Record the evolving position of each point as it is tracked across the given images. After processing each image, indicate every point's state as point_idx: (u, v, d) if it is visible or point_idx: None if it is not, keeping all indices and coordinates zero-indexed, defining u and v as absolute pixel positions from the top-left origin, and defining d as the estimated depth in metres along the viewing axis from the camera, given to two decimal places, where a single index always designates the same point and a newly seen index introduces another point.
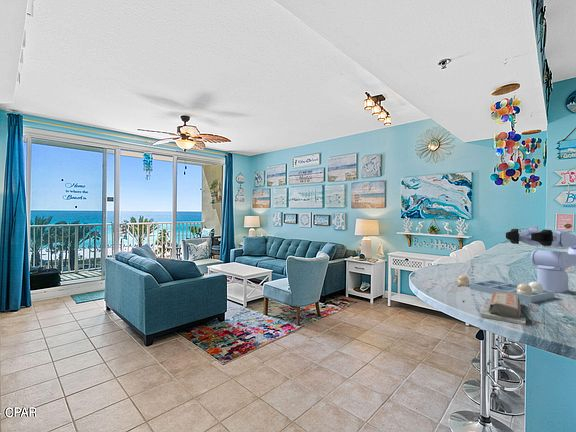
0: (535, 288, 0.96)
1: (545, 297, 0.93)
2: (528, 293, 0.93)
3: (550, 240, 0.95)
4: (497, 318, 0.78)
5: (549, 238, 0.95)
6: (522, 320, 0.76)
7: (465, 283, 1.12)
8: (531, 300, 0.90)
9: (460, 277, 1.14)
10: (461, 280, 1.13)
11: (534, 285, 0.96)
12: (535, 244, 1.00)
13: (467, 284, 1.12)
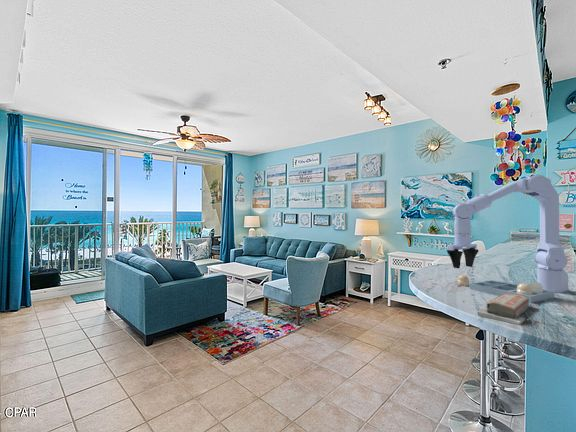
0: (535, 288, 0.96)
1: (545, 297, 0.93)
2: (528, 293, 0.93)
3: (454, 252, 1.11)
4: (492, 317, 0.79)
5: (453, 252, 1.12)
6: (517, 320, 0.76)
7: (465, 283, 1.12)
8: (531, 300, 0.90)
9: (460, 277, 1.14)
10: (461, 280, 1.13)
11: (534, 285, 0.96)
12: (467, 247, 1.12)
13: (467, 284, 1.12)
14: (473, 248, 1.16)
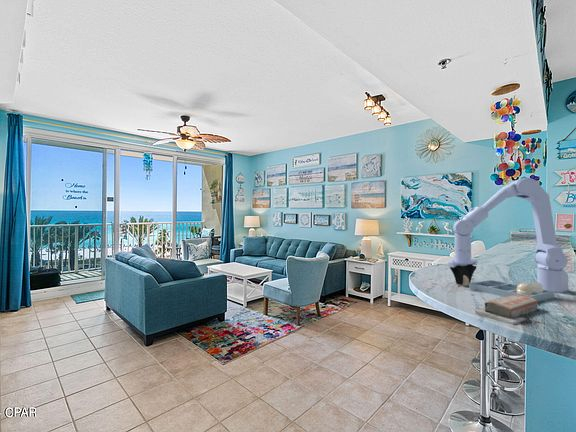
0: (535, 288, 0.96)
1: (545, 297, 0.93)
2: (528, 293, 0.93)
3: (457, 269, 1.12)
4: (488, 316, 0.80)
5: (456, 268, 1.13)
6: (512, 320, 0.76)
7: (465, 283, 1.12)
8: None
9: None
10: None
11: (534, 285, 0.96)
12: (467, 263, 1.12)
13: (467, 284, 1.12)
14: (473, 264, 1.16)
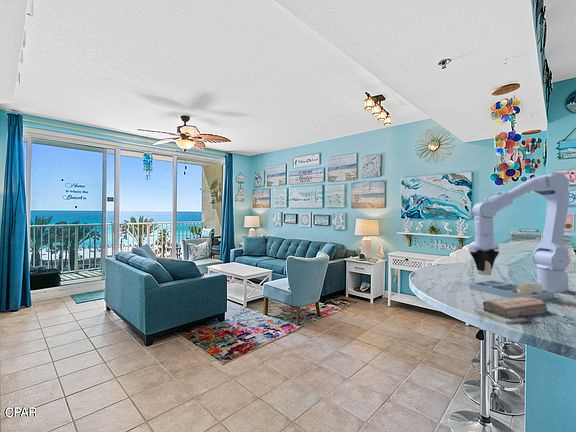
0: (535, 288, 0.96)
1: (545, 297, 0.93)
2: (528, 293, 0.93)
3: (479, 254, 1.04)
4: (485, 314, 0.81)
5: (477, 253, 1.05)
6: (507, 320, 0.76)
7: (487, 269, 1.05)
8: None
9: None
10: None
11: (534, 285, 0.96)
12: (490, 248, 1.04)
13: (489, 270, 1.05)
14: (495, 249, 1.08)
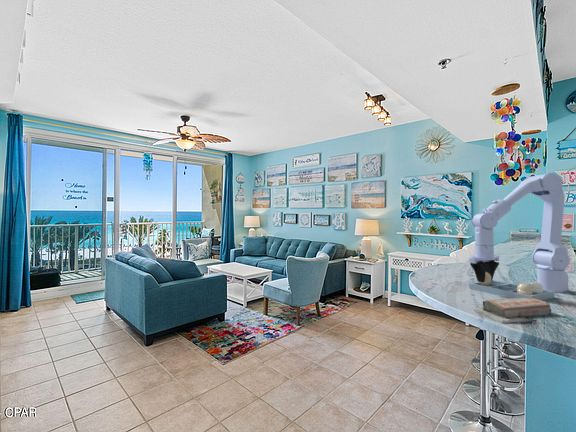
0: (535, 288, 0.96)
1: (545, 297, 0.93)
2: (528, 293, 0.93)
3: (479, 265, 1.04)
4: (483, 314, 0.82)
5: (477, 264, 1.05)
6: (504, 319, 0.76)
7: (487, 280, 1.04)
8: None
9: None
10: None
11: (534, 285, 0.96)
12: (490, 259, 1.04)
13: (489, 282, 1.05)
14: (495, 260, 1.08)
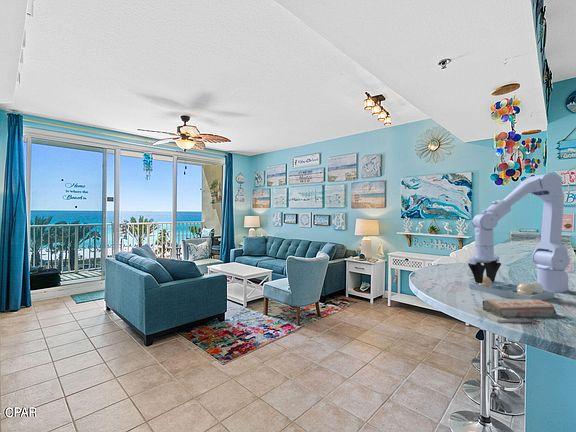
0: (535, 288, 0.96)
1: (545, 297, 0.93)
2: (528, 293, 0.93)
3: (477, 266, 1.04)
4: (482, 313, 0.82)
5: (475, 266, 1.04)
6: (499, 319, 0.77)
7: (487, 285, 1.04)
8: None
9: None
10: (483, 282, 1.05)
11: (534, 285, 0.96)
12: (490, 260, 1.04)
13: None
14: (495, 261, 1.08)
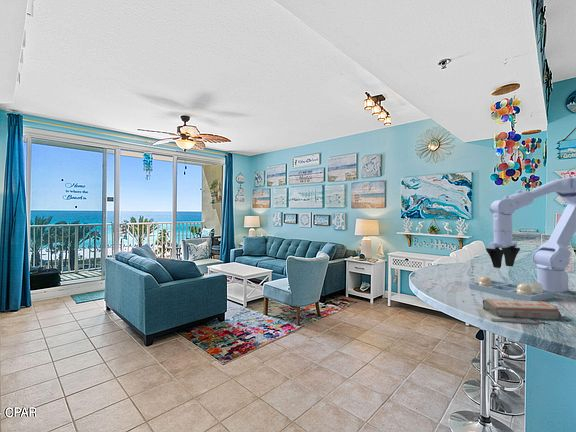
0: (535, 288, 0.96)
1: (545, 297, 0.93)
2: (528, 293, 0.93)
3: (495, 251, 1.04)
4: (480, 312, 0.83)
5: (494, 250, 1.05)
6: (494, 317, 0.78)
7: (487, 285, 1.05)
8: (531, 300, 0.90)
9: (482, 279, 1.06)
10: (483, 282, 1.05)
11: (534, 285, 0.96)
12: (509, 245, 1.05)
13: None
14: (514, 246, 1.08)
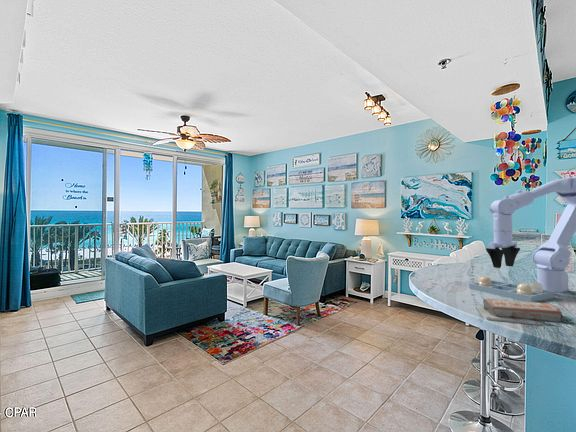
0: (535, 288, 0.96)
1: (545, 297, 0.93)
2: (528, 293, 0.93)
3: (495, 251, 1.04)
4: (480, 311, 0.84)
5: (494, 250, 1.05)
6: (490, 316, 0.79)
7: (487, 285, 1.05)
8: (531, 300, 0.90)
9: (482, 279, 1.06)
10: (483, 282, 1.05)
11: (534, 285, 0.96)
12: (509, 245, 1.05)
13: None
14: (514, 246, 1.08)
